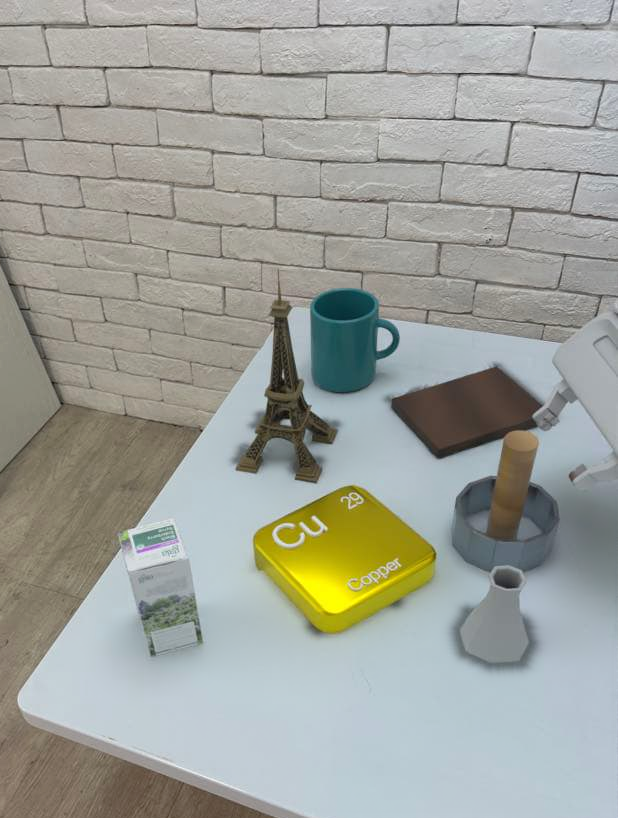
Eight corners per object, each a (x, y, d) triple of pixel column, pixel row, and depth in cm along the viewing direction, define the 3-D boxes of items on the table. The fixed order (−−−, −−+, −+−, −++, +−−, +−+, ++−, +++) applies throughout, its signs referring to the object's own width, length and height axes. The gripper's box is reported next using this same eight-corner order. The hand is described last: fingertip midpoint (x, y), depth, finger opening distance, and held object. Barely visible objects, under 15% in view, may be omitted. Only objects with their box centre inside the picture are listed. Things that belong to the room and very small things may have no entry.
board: (495, 375, 110) (496, 365, 109) (549, 422, 102) (551, 412, 101) (390, 407, 108) (391, 398, 107) (438, 458, 99) (439, 449, 98)
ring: (511, 505, 92) (520, 465, 88) (567, 563, 85) (580, 523, 81) (433, 532, 91) (437, 493, 86) (483, 594, 84) (492, 555, 79)
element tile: (327, 648, 81) (327, 618, 78) (248, 561, 91) (244, 531, 87) (441, 583, 85) (446, 552, 82) (354, 506, 95) (355, 475, 92)
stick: (502, 533, 89) (525, 426, 79) (519, 552, 87) (545, 444, 77) (477, 542, 89) (497, 436, 78) (494, 561, 87) (516, 454, 76)
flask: (528, 681, 76) (549, 615, 69) (450, 667, 78) (461, 600, 71) (532, 623, 80) (551, 555, 73) (458, 610, 83) (469, 543, 75)
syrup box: (192, 610, 86) (173, 513, 76) (206, 652, 82) (188, 555, 72) (141, 624, 86) (115, 528, 75) (152, 667, 82) (126, 571, 71)
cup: (397, 395, 109) (402, 321, 102) (309, 394, 112) (307, 322, 104) (397, 358, 116) (402, 286, 108) (313, 358, 118) (312, 288, 110)
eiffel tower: (235, 470, 102) (215, 289, 84) (261, 420, 109) (247, 243, 91) (316, 483, 99) (312, 297, 81) (337, 431, 105) (338, 249, 88)
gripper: (766, 442, 66) (618, 540, 73) (651, 317, 81) (536, 409, 88) (732, 405, 63) (580, 510, 70) (618, 282, 78) (502, 380, 85)
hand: (555, 453), depth 79 cm, fingers open, 8 cm apart
